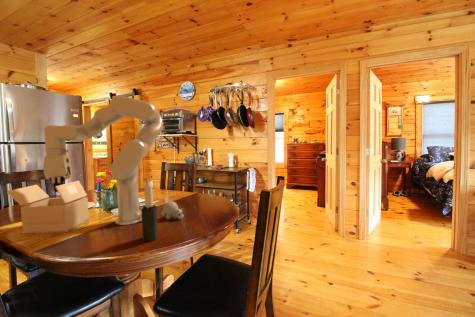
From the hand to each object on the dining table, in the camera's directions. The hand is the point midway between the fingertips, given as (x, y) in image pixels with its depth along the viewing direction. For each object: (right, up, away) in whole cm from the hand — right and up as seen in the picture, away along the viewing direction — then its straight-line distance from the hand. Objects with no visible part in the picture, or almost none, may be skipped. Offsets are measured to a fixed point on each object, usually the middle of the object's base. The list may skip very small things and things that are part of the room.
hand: (58, 191), depth 108 cm
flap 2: (+6, 0, 0) cm, 6 cm away
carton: (-1, -17, +1) cm, 17 cm away
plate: (-16, -16, +32) cm, 39 cm away
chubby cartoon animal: (+51, -16, +10) cm, 55 cm away
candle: (+49, -17, -15) cm, 54 cm away
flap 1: (-13, -1, 0) cm, 13 cm away
